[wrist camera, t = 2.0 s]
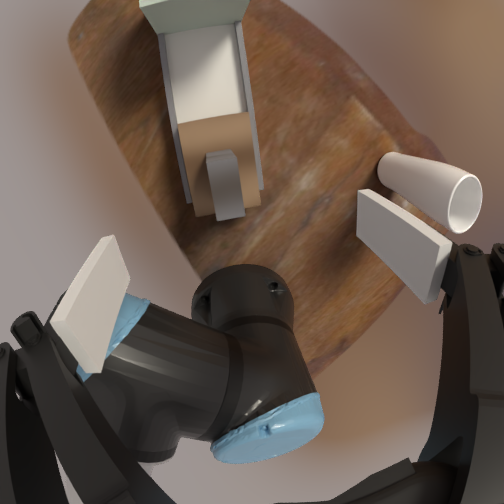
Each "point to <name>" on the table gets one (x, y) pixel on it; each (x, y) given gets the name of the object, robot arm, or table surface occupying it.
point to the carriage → (220, 165)
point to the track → (206, 81)
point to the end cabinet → (191, 13)
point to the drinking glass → (433, 189)
